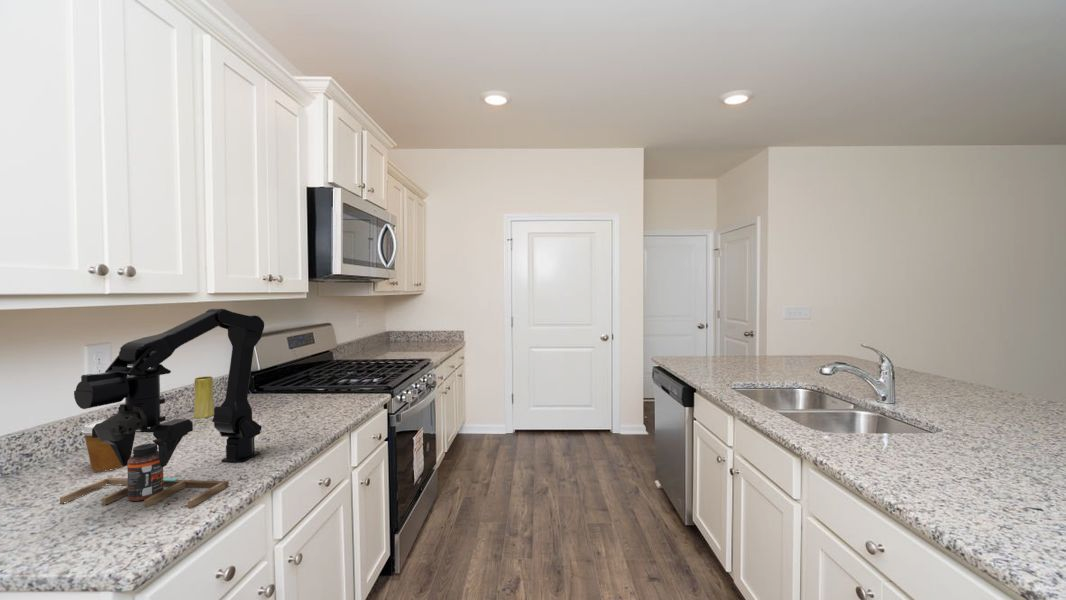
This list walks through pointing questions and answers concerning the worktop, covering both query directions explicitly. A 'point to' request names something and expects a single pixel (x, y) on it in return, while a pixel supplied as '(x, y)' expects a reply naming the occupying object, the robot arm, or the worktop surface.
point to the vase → (203, 397)
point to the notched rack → (167, 482)
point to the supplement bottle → (144, 472)
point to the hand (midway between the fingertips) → (144, 466)
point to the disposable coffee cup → (99, 451)
